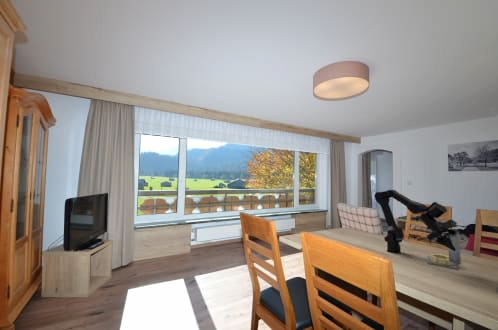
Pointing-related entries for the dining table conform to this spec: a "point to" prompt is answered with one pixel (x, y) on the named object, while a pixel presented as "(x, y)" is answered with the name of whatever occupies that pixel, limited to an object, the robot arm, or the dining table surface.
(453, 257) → the shiny metal cylinder
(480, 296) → the dining table surface
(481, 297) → the dining table surface
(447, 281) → the dining table surface
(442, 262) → the nut plate
